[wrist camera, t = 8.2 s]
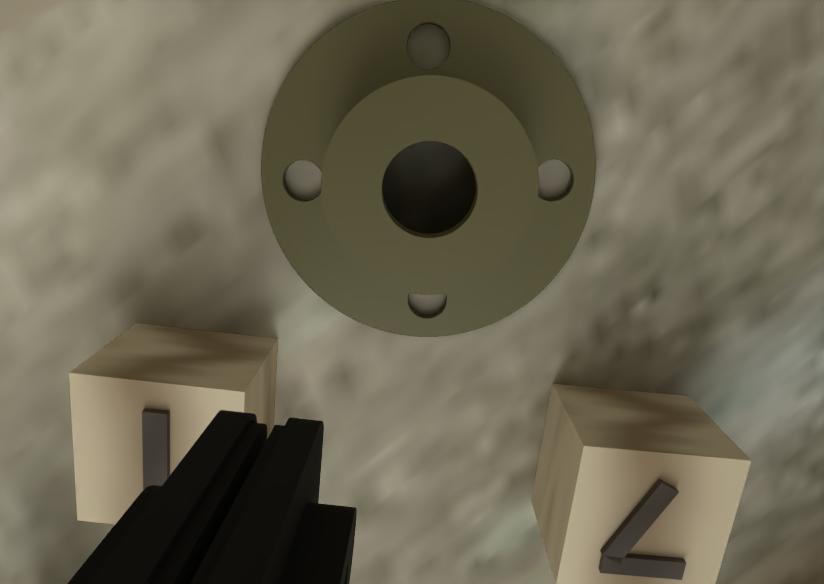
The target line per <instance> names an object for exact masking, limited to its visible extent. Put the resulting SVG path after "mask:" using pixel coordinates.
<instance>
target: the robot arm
mask: <svg viewBox="0 0 824 584" xmlns="http://www.w3.org/2000/svg"><path fill="white" fill-rule="evenodd" d="M323 430H324V426H323V421H315V420H307V419H298V418H289V419H288V421H287V423H286V425H285V426H281V425H275V426H274V428H273V429H272V431H271V433H270V435H269V437H268V439H267V425H266V424H263V423H257V417H256V415H255V414H253V413H244V412H235V411H226V410H220V411H219V412H218V413H217V414H216V416H215V417H214V418H213V420H212V421H211V422H210V424H209V425H208V426H207V427H206V429H205V430H204V431H203V433H202V434H201V435H200V437H199V438H198V439H197V441H196V442H195V443H194V445H193V446H192V447H191V448H190V450H189V451H188V452H187V454H186V455H185V456H184V458H183V459H182V460H181V462H180V463H179V464H178V466H177V467H176V468H175V469H174V471H173V472H172V473H171V475H170V476H169V477H168V479H167V480H166V481H165V483H164V484H163V485H162V486H158V485H151V486H148V487H146V488H145V489H144V490H143V491H142V492H141V493H140V495H139V496H138V497H137V498H136V500H135V501H134V502H133V503H132V504H131V506H130V507H129V508H128V509H127V511H126V512H125V513H124V514H123V516H122V517H121V518H120V519H119V521H118V522H117V523H116V524H115V526H114V527H113V528H112V529H111V531H110V532H109V533H108V534H107V536H106V537H105V538H104V539H103V540H102V542H101V543H100V544H99V545H98V547H97V548H96V549H95V550H94V552H93V553H92V554H91V555H90V557H89V558H88V559H87V560H86V562H85V563H84V564H83V565H82V567H81V568H80V569H79V570H78V572H77V573H76V574H75V575H74V576H73V578H72V579H71V580H70V581H69V583H68V584H349V580H350V573H351V565H352V556H353V547H354V536H355V526H356V508H354V507H345V506H336V505H327V504H318V499H319V485H320V472H321V459H322V445H323Z"/></svg>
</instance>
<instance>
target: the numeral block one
mask: <svg viewBox="0 0 824 584" xmlns="http://www.w3.org/2000/svg"><path fill="white" fill-rule="evenodd" d="M277 352H278V339H275V338H267V337H258V336H249V335H240V334H231V333H222V332H213V331H204V330H195V329H186V328H177V327H168V326H159V325H150V324H141V323H136V324H135V325H134V326H132V327H131V328H129V329H128V330H127V331H125V332H124V333H123V334H121V335H120V336H119V337H117V338H116V339H115V340H113V341H112V342H110V343H109V344H108V345H106V346H105V347H104V348H102V349H101V350H100V351H98V352H97V353H95V354H94V355H93V356H91V357H90V358H89V359H87V360H86V361H85V362H83V363H82V364H80V365H79V366H78V367H76V368H75V369H74V370H72V371H71V372H70V373H69V380H70V398H71V416H72V433H73V451H74V469H75V487H76V504H77V520H79V521H88V522H98V523H108V524H116V523H117V522H118V521H119V519H120V518H121V517H122V516H123V514H124V513H125V512H126V511H127V509H128V508H129V507H130V506H131V504H132V503H133V502H134V501H135V500H136V498H137V497H138V496H139V495H140V493H141V492H142V491H143V490H144V489H145V488H146V487H148V486H151V485H158V486H162V485H163V484H164V483H165V481H166V480H167V479H168V477H169V476H170V475H171V473H172V472H173V471H174V469H175V468H176V467H177V466H178V464H179V463H180V462H181V460H182V459H183V458H184V456H185V455H186V454H187V452H188V451H189V450H190V448H191V447H192V446H193V445H194V443H195V442H196V441H197V439H198V438H199V437H200V435H201V434H202V433H203V431H204V430H205V429H206V427H207V426H208V425H209V424H210V422H211V421H212V420H213V418H214V417H215V416H216V414H217V413H218V412H219V411H220V410H226V411H235V412H244V413H253V414H255V415H256V417H257V423H263V424H266V425H267V439H268V437H269V435H270V433H271V431H272V429H273V425H274V407H275V388H276V370H277Z"/></svg>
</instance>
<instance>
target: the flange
mask: <svg viewBox="0 0 824 584" xmlns="http://www.w3.org/2000/svg"><path fill="white" fill-rule="evenodd" d="M424 24H434V25H437V26H439V27H440V28H441V29H443V30H444V31H445V33H446V34H447V36H448V38H449V42H450V52H449V56H448V58H447V60H446V61H445V62H444V63H443V64H442V65H441V66H440V67H438V68H435V69H431V70H425V69H422V68H419V67H417V66H416V65H415V64H414V63H413V62H412V61H411V60H410V58H409V56H408V53H407V41H408V38H409V36H410V34H411V33H412V31H413V30H414V29H415V28H417V27H418V26H421V25H424ZM423 141H437V142H442V143H445V144H448V145H450V146H452V147H454V148H456V149H457V150H459V151H460V152H461V153H462V154H463V155H464V156H465V157H466V159H467V160H468V162H469V163H470V165H471V167H472V170H473V173H474V176H475V183H476V190H475V197H474V200H473V203H472V206H471V208H470V210H469V211H468V213H467V215H466V216H465V217H464V218H463V219H462V220H461V221H460V222H459V223H458V224H457V225H455V226H454V227H452V228H450V229H448V230H446V231H443V232H440V233H433V234H424V233H418V232H415V231H412V230H410V229H408V228H406V227H404V226H403V225H401V224H400V223H399V222H398V221H397V220H396V219H395V218H394V217H393V216H392V214H391V213H390V211H389V210H388V208H387V205H386V203H385V200H384V195H383V180H384V175H385V172H386V169H387V167H388V165H389V163H390V162H391V160H392V159H393V158H394V157H395V156H396V155H397V154H398V153H399V152H400V151H401V150H403V149H404V148H406V147H408V146H410V145H412V144H415V143H418V142H423ZM552 159H557V160H561V161H562V162H564V163H565V164H566V165H567V166H568V168H569V170H570V173H571V183H570V186H569V188H568V190H567V191H566V192H565V194H563V195H562V196H561V197H559V198H557V199H553V200H545V199H542V198H540V197H539V196H538V186H539V180H538V169H537V167H538V166H539V165H541V164H542V163H543V162H545V161H548V160H552ZM297 160H307V161H310V162H312V163H314V164H315V165H316V166H318V168H319V169H320V170H321V172H322V179H321V193H320V195H319V196H318V197H316V198H315V199H312V200H301V199H298V198H296V197H294V196H293V195H292V194H291V193H290V192H289V190H288V189H287V187H286V183H285V174H286V171H287V169H288V167H289V166H290V165H291V164H292V163H293V162H295V161H297ZM595 171H596V161H595V147H594V139H593V134H592V129H591V125H590V121H589V117H588V114H587V111H586V108H585V105H584V103H583V100H582V98H581V96H580V93H579V91H578V89H577V87H576V85H575V84H574V82H573V80H572V78H571V77H570V75H569V73H568V72H567V70H566V69H565V68H564V66H563V65H562V63H561V62H560V61H559V60H558V58H557V57H556V56H555V55H554V53H553V52H552V51H551V50H550V49H549V48H548V47H547V46H546V45H545V44H544V43H543V42H542V41H541V40H540V39H539V38H537V37H536V36H535V35H534V34H533V33H531V32H530V31H529V30H527V29H526V28H525V27H523V26H522V25H520V24H519V23H517V22H515V21H514V20H512V19H510V18H509V17H507V16H505V15H503V14H501V13H499V12H496V11H494V10H492V9H489V8H487V7H484V6H481V5H478V4H474V3H471V2H467V1H462V0H397V1H393V2H388V3H385V4H381V5H378V6H375V7H372V8H370V9H367V10H365V11H363V12H360V13H358V14H356V15H354V16H352V17H350V18H349V19H347V20H345V21H343V22H342V23H340V24H339V25H337V26H336V27H334V28H333V29H331V30H330V31H329V32H327V33H326V34H325V35H324V36H323V37H321V38H320V39H319V40H318V41H317V42H316V43H315V44H314V45H313V46H312V47H311V48H310V49H309V50H308V51H307V52H306V53H305V54H304V55H303V56H302V58H301V59H300V60H299V61H298V62H297V64H296V65H295V66H294V68H293V69H292V71H291V72H290V74H289V75H288V77H287V78H286V80H285V82H284V84H283V85H282V87H281V89H280V91H279V93H278V95H277V97H276V100H275V102H274V105H273V107H272V110H271V113H270V116H269V119H268V122H267V126H266V130H265V135H264V141H263V148H262V160H261V176H262V188H263V196H264V202H265V206H266V210H267V214H268V217H269V221H270V224H271V227H272V229H273V232H274V234H275V237H276V239H277V241H278V243H279V245H280V247H281V249H282V251H283V253H284V254H285V256H286V258H287V259H288V261H289V262H290V264H291V265H292V267H293V268H294V270H295V271H296V272H297V274H298V275H299V276H300V277H301V278H302V280H303V281H304V282H305V283H306V284H307V285H308V286H309V287H310V288H311V289H312V290H313V291H314V292H315V293H316V294H317V295H318V296H319V297H321V298H322V299H323V300H324V301H325V302H327V303H328V304H329V305H331V306H332V307H334V308H335V309H337V310H338V311H340V312H341V313H343V314H345V315H346V316H348V317H350V318H352V319H354V320H356V321H358V322H360V323H362V324H365V325H367V326H370V327H373V328H376V329H379V330H382V331H386V332H390V333H395V334H400V335H407V336H417V337H438V336H448V335H455V334H460V333H465V332H469V331H472V330H476V329H479V328H482V327H485V326H487V325H490V324H492V323H494V322H497V321H499V320H501V319H503V318H505V317H507V316H508V315H510V314H512V313H514V312H515V311H517V310H518V309H520V308H521V307H523V306H524V305H526V304H527V303H528V302H529V301H531V300H532V299H533V298H534V297H536V296H537V295H538V294H539V293H540V292H541V291H542V290H543V289H544V288H545V287H546V286H547V285H548V284H549V283H550V282H551V281H552V280H553V279H554V278H555V276H556V275H557V274H558V273H559V271H560V270H561V269H562V267H563V266H564V265H565V263H566V262H567V260H568V259H569V257H570V255H571V254H572V252H573V250H574V248H575V247H576V245H577V243H578V241H579V239H580V236H581V234H582V232H583V229H584V227H585V224H586V221H587V218H588V215H589V211H590V207H591V203H592V198H593V192H594V185H595ZM409 293H414V294H424V295H434V294H444V293H446V302H445V305H444V306H443V308H442V309H441V310H440V311H439V312H437V313H435V314H432V315H422V314H419V313H417V312H416V311H414V310H413V309H412V307H411V306H410V304H409V301H408V295H409Z"/></svg>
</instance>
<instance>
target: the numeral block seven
mask: <svg viewBox="0 0 824 584" xmlns="http://www.w3.org/2000/svg"><path fill="white" fill-rule="evenodd" d="M750 465H751V460H750V459H749V458H748V456H747V455H746V454H745V453H744V452H743V451H742V450H741V449H740V448H739V447H738V446H737V445H736V444H735V443H734V442H733V441H732V440H731V439H730V438H729V437H728V436H727V435H726V434H725V433H724V432H723V431H722V430H721V429H720V428H719V427H718V426H717V425H716V424H715V423H714V422H713V421H712V420H711V419H710V418H709V417H708V415H707V414H706V413H705V412H704V411H703V410H702V409H701V408H700V407H699V406H698V405H697V404H696V403H695V402H694V401H693V400H692V399H691V398H690V397H689V396H684V395H672V394H661V393H650V392H639V391H628V390H617V389H605V388H594V387H583V386H572V385H561V384H552V389H551V394H550V400H549V405H548V411H547V417H546V422H545V428H544V434H543V439H542V445H541V450H540V456H539V462H538V467H537V473H536V479H535V484H534V490H533V495H532V505H533V508H534V511H535V515H536V518H537V521H538V525H539V528H540V531H541V535H542V538H543V542H544V545H545V548H546V552H547V555H548V558H549V562H550V565H551V569H552V572H553V575H554V579H555V582H556V584H715V583H716V579H717V576H718V573H719V569H720V566H721V563H722V559H723V556H724V552H725V549H726V546H727V542H728V539H729V536H730V532H731V529H732V525H733V522H734V519H735V515H736V512H737V508H738V505H739V502H740V498H741V495H742V492H743V488H744V485H745V481H746V478H747V475H748V471H749V468H750Z"/></svg>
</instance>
